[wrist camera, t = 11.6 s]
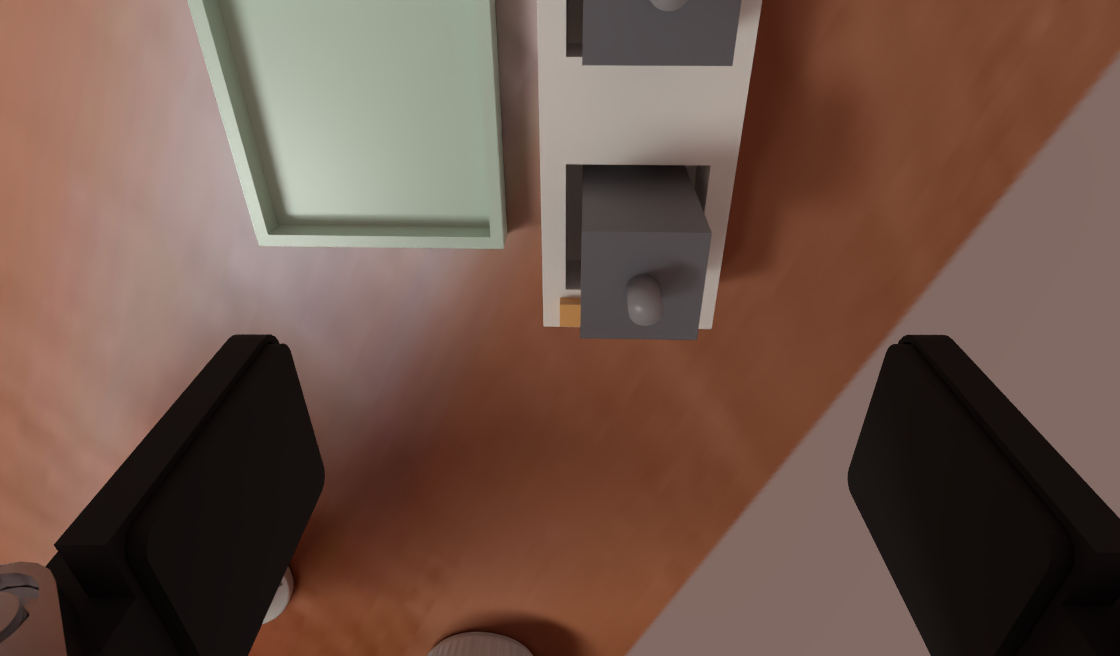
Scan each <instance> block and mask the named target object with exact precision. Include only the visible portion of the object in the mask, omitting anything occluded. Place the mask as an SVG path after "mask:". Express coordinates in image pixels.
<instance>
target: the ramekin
mask: <svg viewBox="0 0 1120 656" xmlns="http://www.w3.org/2000/svg"><path fill="white" fill-rule="evenodd" d="M427 656H533V655H532V654H531V652H530V651H529V650H528V649H527V648H526V647H525V646H524V645H522V644H521V643H519V642H518V641H516V640H514V639H512V638H509V637H506V636H503V635H499V634H495V633H489V632H467V633H461V634H457V635H454V636H451V637H448V638H446V639H444V640H443V641H441V642H440V643H439V644H437V645H436V646H435V647H434V648H433V649H432V650H431V651H430V652H429V654H428V655H427Z"/></svg>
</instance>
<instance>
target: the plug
mask: <svg viewBox="0 0 1120 656" xmlns="http://www.w3.org/2000/svg"><path fill="white" fill-rule="evenodd" d="M741 1H742V0H583V45H582V65H618V66H732V65H733V58H734V51H735V44H736V37H737V30H738V22H739V15H740V8H741Z"/></svg>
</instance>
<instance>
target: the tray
mask: <svg viewBox="0 0 1120 656" xmlns="http://www.w3.org/2000/svg"><path fill="white" fill-rule="evenodd" d="M187 1H188V5H189V8H190V11H191V15H192V18H193V22H194V25H195V28H196V32H197V35H198V39H199V42H200V46H201V49H202V52H203V56H204V59H205V63H206V66H207V70H208V73H209V76H210V80H211V83H212V87H213V90H214V94H215V97H216V100H217V104H218V107H219V111H220V114H221V118H222V121H223V124H224V128H225V131H226V135H227V138H228V141H229V145H230V148H231V152H232V155H233V159H234V162H235V165H236V169H237V172H238V176H239V179H240V183H241V186H242V189H243V193H244V196H245V200H246V203H247V207H248V210H249V213H250V217H251V220H252V224H253V227H254V231H255V234H256V237H257V241H258V244H259V246H299V247H382V248H465V249H504V245H505V241H506V237H507V215H506V196H505V177H504V158H503V139H502V121H501V102H500V83H499V64H498V45H497V26H496V7H495V0H187Z"/></svg>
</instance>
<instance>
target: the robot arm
mask: <svg viewBox="0 0 1120 656" xmlns="http://www.w3.org/2000/svg"><path fill="white" fill-rule="evenodd" d="M324 479H325V471H324V466H323V462H322V459H321V455H320V452H319V448H318V445H317V441H316V438H315V434H314V431H313V427H312V424H311V420H310V417H309V413H308V410H307V406H306V403H305V400H304V396H303V393H302V389H301V386H300V382H299V379H298V375H297V372H296V368H295V365H294V361H293V358H292V354H291V351H290V349H289V347H288V346H287V345H286V344H279V341H278V340H277V338H276V337H275V336H273V335H233V336H231V337H230V338H229V339H228V340H227V341H226V342H225V344H224V345H223V346H222V347H221V348H220V350H219V351H218V352H217V353H216V354H215V355H214V357H213V358H212V359H211V360H210V361H209V363H208V364H207V365H206V366H205V367H204V368H203V370H202V371H201V372H200V373H199V374H198V375H197V377H196V378H195V379H194V380H193V381H192V383H191V384H190V385H189V386H188V387H187V388H186V390H185V391H184V392H183V393H182V394H181V396H180V397H179V398H178V399H177V400H176V401H175V403H174V404H173V405H172V406H171V407H170V409H169V410H168V411H167V412H166V413H165V414H164V416H163V417H162V418H161V419H160V420H159V421H158V423H157V424H156V425H155V426H154V427H153V429H152V430H151V431H150V432H149V433H148V434H147V436H146V437H145V438H144V439H143V440H142V442H141V443H140V444H139V445H138V446H137V447H136V449H135V450H134V451H133V452H132V453H131V455H130V456H129V457H128V458H127V459H126V460H125V462H124V463H123V464H122V465H121V466H120V467H119V469H118V470H117V471H116V472H115V473H114V475H113V476H112V477H111V478H110V479H109V480H108V482H107V483H106V484H105V485H104V486H103V488H102V489H101V490H100V491H99V492H98V493H97V495H96V496H95V497H94V498H93V499H92V501H91V502H90V503H89V504H88V505H87V506H86V508H85V509H84V510H83V511H82V512H81V513H80V515H79V516H78V517H77V518H76V519H75V521H74V522H73V523H72V524H71V525H70V526H69V528H68V529H67V530H66V531H65V532H64V534H63V535H62V536H61V537H60V538H59V539H58V541H57V542H56V543H55V544H54V546H55V547H56V549H57V550H58V552H57V553H56V555H55V556H54V557H53V558H52V559H51V561H50V562H49V563H48V564H47V565H46V567H44V566H42V565H40V564H38V563H30V562H15V563H9V564H3V565H0V656H248V654H249V652H250V650H251V647H252V645H253V643H254V641H255V639H256V636H257V634H258V632H259V630H260V627H261V625H262V624H264V623H267V622H269V621H271V620H273V619H274V618H276V617H278V616H279V615H280V614H281V613H282V612H283V611H284V609H285V608H286V606H287V604H288V602H289V600H290V597H291V595H292V592H293V577H292V574H291V570H290V569H289V567H288V565H289V563H290V561H291V558H292V556H293V554H294V552H295V550H296V547H297V545H298V543H299V541H300V538H301V536H302V534H303V532H304V530H305V527H306V525H307V523H308V521H309V518H310V516H311V514H312V512H313V510H314V507H315V505H316V503H317V501H318V498H319V496H320V494H321V492H322V489H323V485H324ZM848 486H849V490H850V493H851V495H852V497H853V499H854V501H855V503H856V505H857V507H858V509H859V511H860V513H861V515H862V517H863V519H864V521H865V523H866V525H867V527H868V529H869V531H870V533H871V535H872V538H873V540H874V541H875V543H876V545H877V548H878V550H879V551H880V554H881V556H882V558H883V560H884V562H885V564H886V566H887V568H888V570H889V572H890V574H891V576H892V578H893V580H894V582H895V584H896V586H897V588H898V590H899V592H900V594H901V596H902V598H903V600H904V602H905V604H906V606H907V608H908V610H909V612H910V614H911V616H912V618H913V620H914V622H915V624H916V626H917V628H918V630H919V632H920V634H921V636H922V638H923V640H924V643H925V645H926V647H927V648H928V651H929V653H930V654H931V656H1120V518H1118V516H1117V515H1116V514H1115V513H1114V512H1113V511H1112V510H1111V509H1110V508H1109V507H1108V506H1107V505H1106V503H1104V501H1103V500H1102V499H1101V498H1100V497H1099V496H1098V495H1097V494H1096V493H1095V492H1094V491H1093V490H1092V488H1091V487H1090V486H1089V485H1088V484H1087V483H1086V482H1085V481H1084V480H1083V479H1082V478H1081V477H1080V476H1079V475H1078V474H1077V472H1076V471H1075V470H1074V469H1073V468H1072V467H1071V466H1070V465H1069V464H1068V463H1067V462H1066V461H1065V459H1064V458H1063V457H1062V456H1061V455H1060V454H1059V453H1058V452H1057V451H1056V450H1055V449H1054V448H1053V447H1052V446H1051V444H1049V442H1048V441H1047V440H1046V439H1045V438H1044V437H1043V436H1042V435H1041V434H1040V433H1039V432H1038V431H1037V429H1036V428H1035V427H1034V426H1033V425H1032V424H1031V423H1030V422H1029V421H1028V420H1027V419H1026V418H1025V417H1024V416H1023V414H1021V412H1020V411H1018V409H1017V408H1016V407H1015V406H1014V405H1013V404H1012V403H1011V402H1010V401H1009V399H1007V397H1006V396H1005V395H1004V394H1003V393H1002V392H1001V391H1000V390H999V389H998V388H997V387H996V386H995V385H994V383H993V382H992V381H991V380H990V379H989V378H988V377H987V376H986V375H985V374H984V373H983V372H982V371H981V369H980V368H979V367H978V366H977V365H976V364H975V363H974V362H973V361H972V360H971V359H970V358H969V357H968V356H967V355H966V353H965V352H964V351H963V350H962V349H961V348H960V347H959V346H958V345H957V344H956V343H955V342H954V341H953V339H951V338H950V337H949V336H946V335H906V336H904V337H902V339H901V340H900V341H899V342H898V344H893V345H891V346H890V347H889V348H888V350H887V352H886V355H885V358H884V361H883V364H882V367H881V370H880V373H879V376H878V380H877V383H876V386H875V389H874V392H873V395H872V398H871V401H870V405H869V408H868V411H867V414H866V417H865V420H864V423H863V426H862V429H861V433H860V436H859V439H858V442H857V445H856V448H855V451H854V454H853V458H852V461H851V464H850V467H849V471H848Z"/></svg>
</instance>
